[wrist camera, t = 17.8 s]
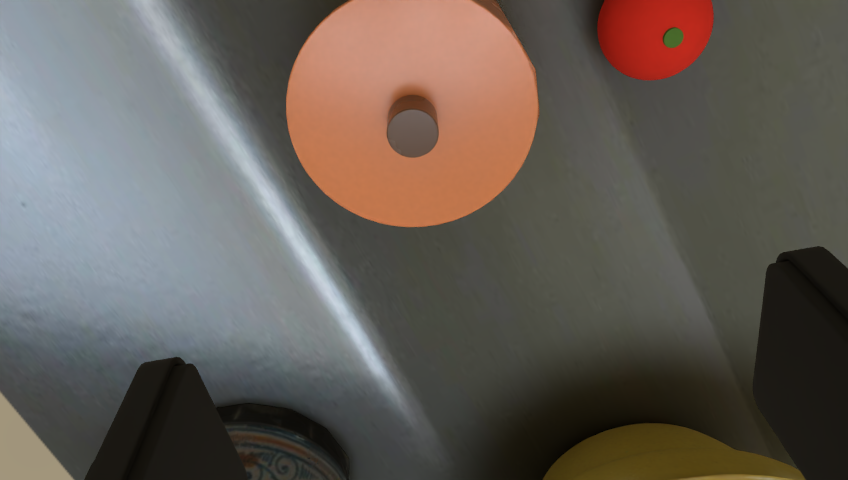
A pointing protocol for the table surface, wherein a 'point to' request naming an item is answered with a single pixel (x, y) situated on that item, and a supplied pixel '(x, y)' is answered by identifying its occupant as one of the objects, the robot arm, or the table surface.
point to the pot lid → (412, 108)
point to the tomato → (654, 35)
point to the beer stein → (283, 444)
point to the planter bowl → (663, 457)
